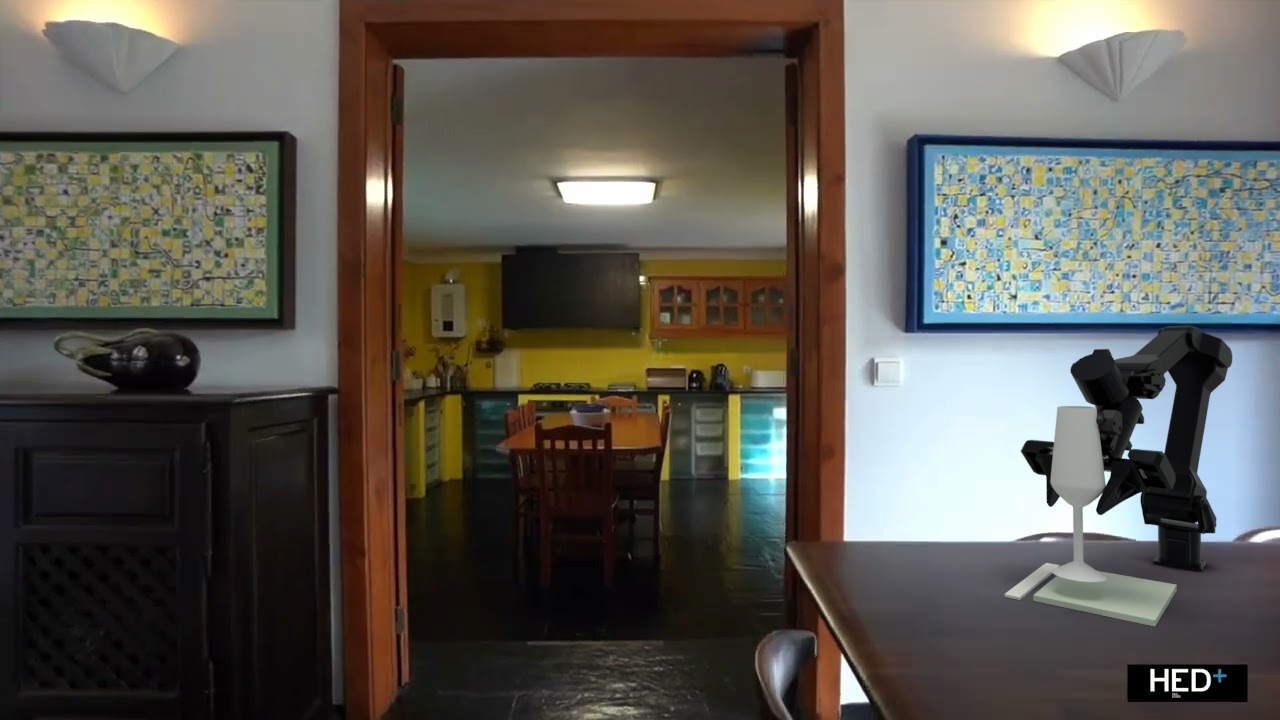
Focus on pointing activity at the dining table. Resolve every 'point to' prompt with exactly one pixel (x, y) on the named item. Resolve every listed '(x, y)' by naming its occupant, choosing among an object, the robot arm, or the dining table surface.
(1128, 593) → the pale green flat slabs
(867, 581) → the dining table surface
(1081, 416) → the champagne flute
